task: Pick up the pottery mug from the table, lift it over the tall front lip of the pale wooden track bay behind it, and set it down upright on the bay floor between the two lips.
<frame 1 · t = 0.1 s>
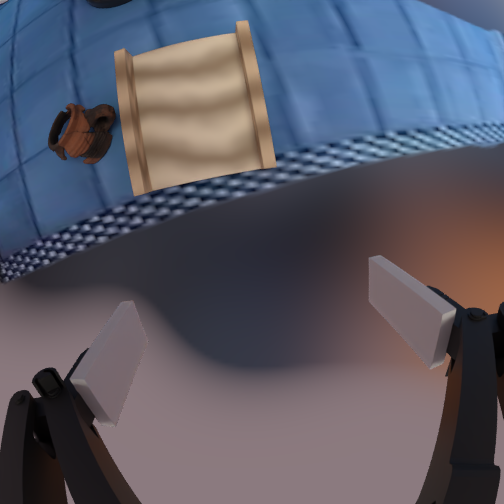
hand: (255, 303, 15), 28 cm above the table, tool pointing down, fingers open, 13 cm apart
track bay: (193, 107, 36), on the table
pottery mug: (93, 132, 36), on the table
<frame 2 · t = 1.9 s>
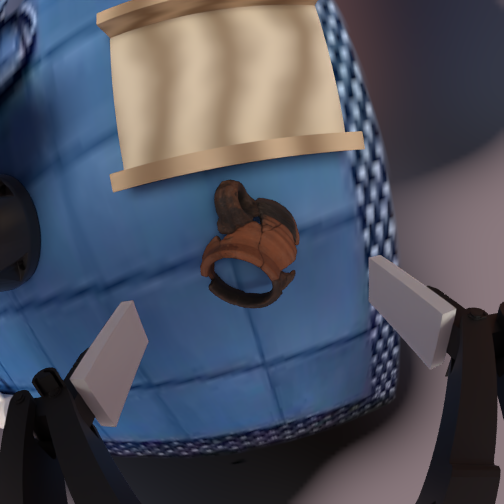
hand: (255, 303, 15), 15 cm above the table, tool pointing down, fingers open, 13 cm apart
track bay: (222, 75, 24), on the table
white cylinder: (9, 393, 34), on the table
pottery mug: (247, 233, 29), on the table
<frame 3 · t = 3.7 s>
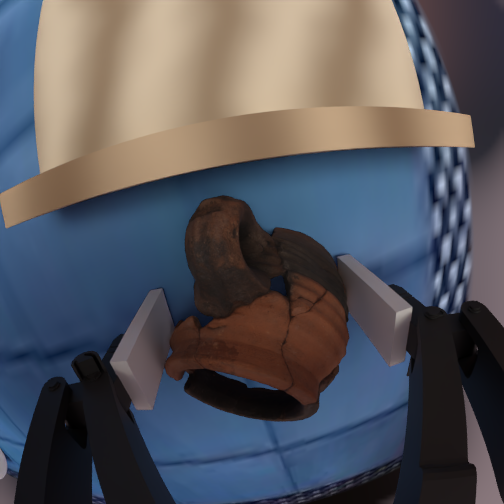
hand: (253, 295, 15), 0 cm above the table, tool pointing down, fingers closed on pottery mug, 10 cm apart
track bay: (214, 10, 11), on the table
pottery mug: (252, 288, 16), on the table, touching gripper
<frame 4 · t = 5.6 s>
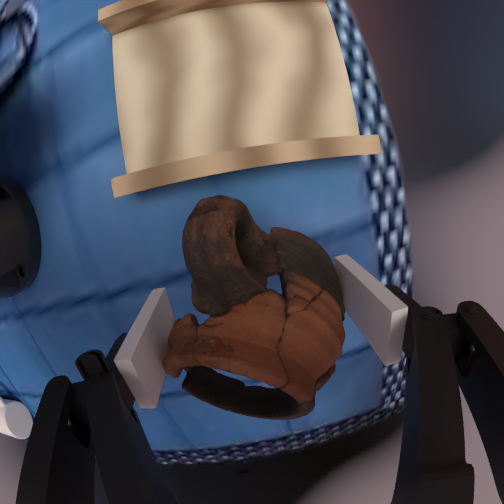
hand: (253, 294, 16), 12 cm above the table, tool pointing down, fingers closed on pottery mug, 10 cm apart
track bay: (230, 74, 22), on the table
white cylinder: (10, 398, 34), on the table
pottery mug: (249, 287, 16), point 11 cm above the table, touching gripper
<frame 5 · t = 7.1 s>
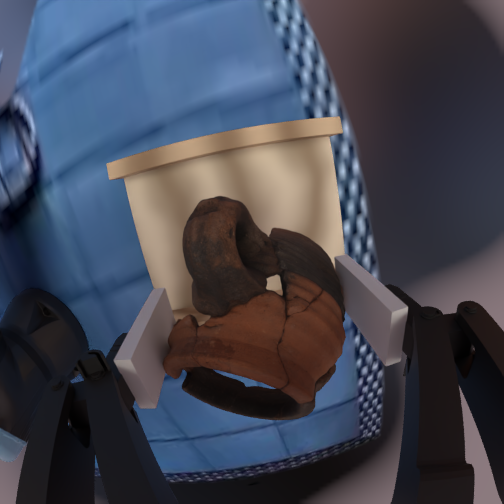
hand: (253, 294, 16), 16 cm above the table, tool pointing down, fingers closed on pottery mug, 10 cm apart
track bay: (239, 225, 30), on the table
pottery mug: (250, 287, 16), point 15 cm above the table, touching gripper
when the fingers open (3 cm above the table, at t = 9.8 s): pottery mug stays where it is, resting on track bay.
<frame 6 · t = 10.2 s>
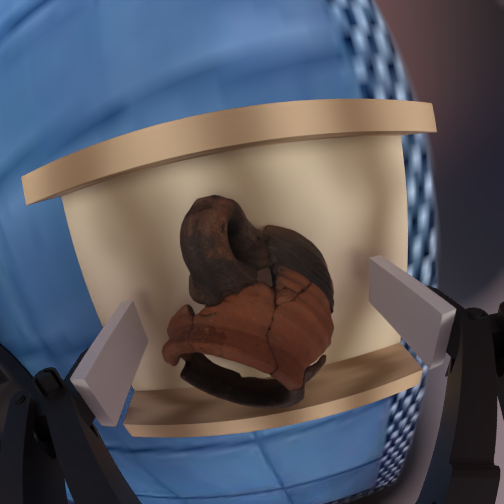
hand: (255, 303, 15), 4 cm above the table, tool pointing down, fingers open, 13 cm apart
track bay: (250, 276, 18), on the table
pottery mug: (245, 281, 17), point 1 cm above the table, touching track bay
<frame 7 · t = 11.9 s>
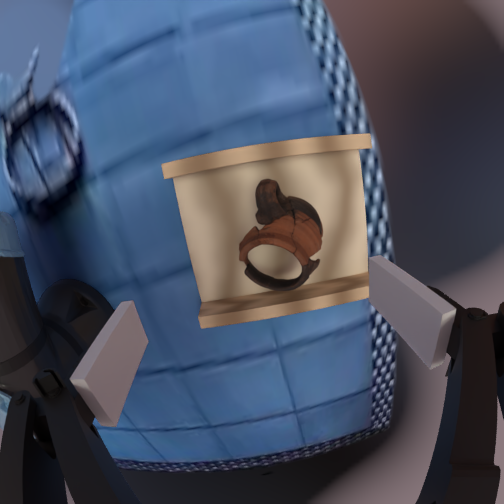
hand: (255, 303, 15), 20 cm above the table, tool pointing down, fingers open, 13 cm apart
track bay: (277, 224, 34), on the table
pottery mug: (277, 226, 33), point 1 cm above the table, touching track bay
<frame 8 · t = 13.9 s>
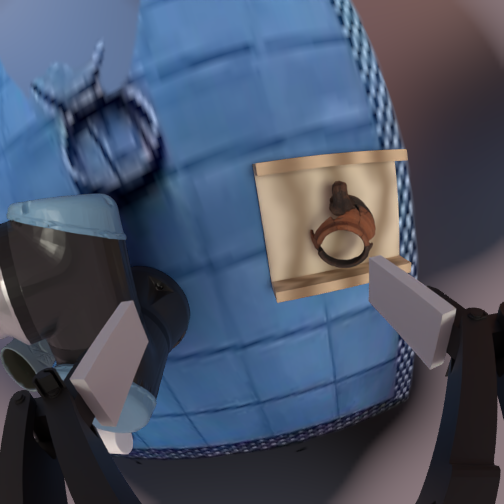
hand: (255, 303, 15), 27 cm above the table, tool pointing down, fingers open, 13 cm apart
track bay: (334, 217, 41), on the table
white cylinder: (108, 421, 52), on the table
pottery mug: (336, 218, 40), point 1 cm above the table, touching track bay
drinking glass: (47, 337, 44), on the table
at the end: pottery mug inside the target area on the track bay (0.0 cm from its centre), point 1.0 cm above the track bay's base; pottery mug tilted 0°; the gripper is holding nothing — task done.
